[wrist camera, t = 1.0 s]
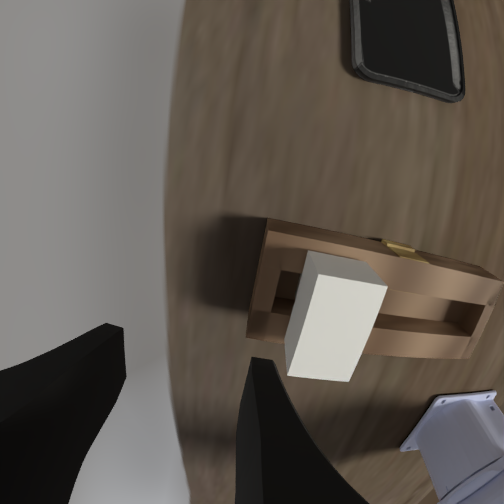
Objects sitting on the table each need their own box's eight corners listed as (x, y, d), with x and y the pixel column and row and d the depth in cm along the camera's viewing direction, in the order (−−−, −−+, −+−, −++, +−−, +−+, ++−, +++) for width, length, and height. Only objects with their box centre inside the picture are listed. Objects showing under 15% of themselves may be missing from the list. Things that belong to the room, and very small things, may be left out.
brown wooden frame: (480, 264, 17) (504, 279, 14) (449, 339, 19) (467, 361, 16) (268, 214, 17) (268, 226, 14) (248, 314, 19) (245, 340, 16)
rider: (355, 249, 16) (387, 286, 11) (330, 327, 17) (348, 381, 13) (302, 239, 16) (318, 273, 11) (282, 320, 17) (287, 375, 13)
